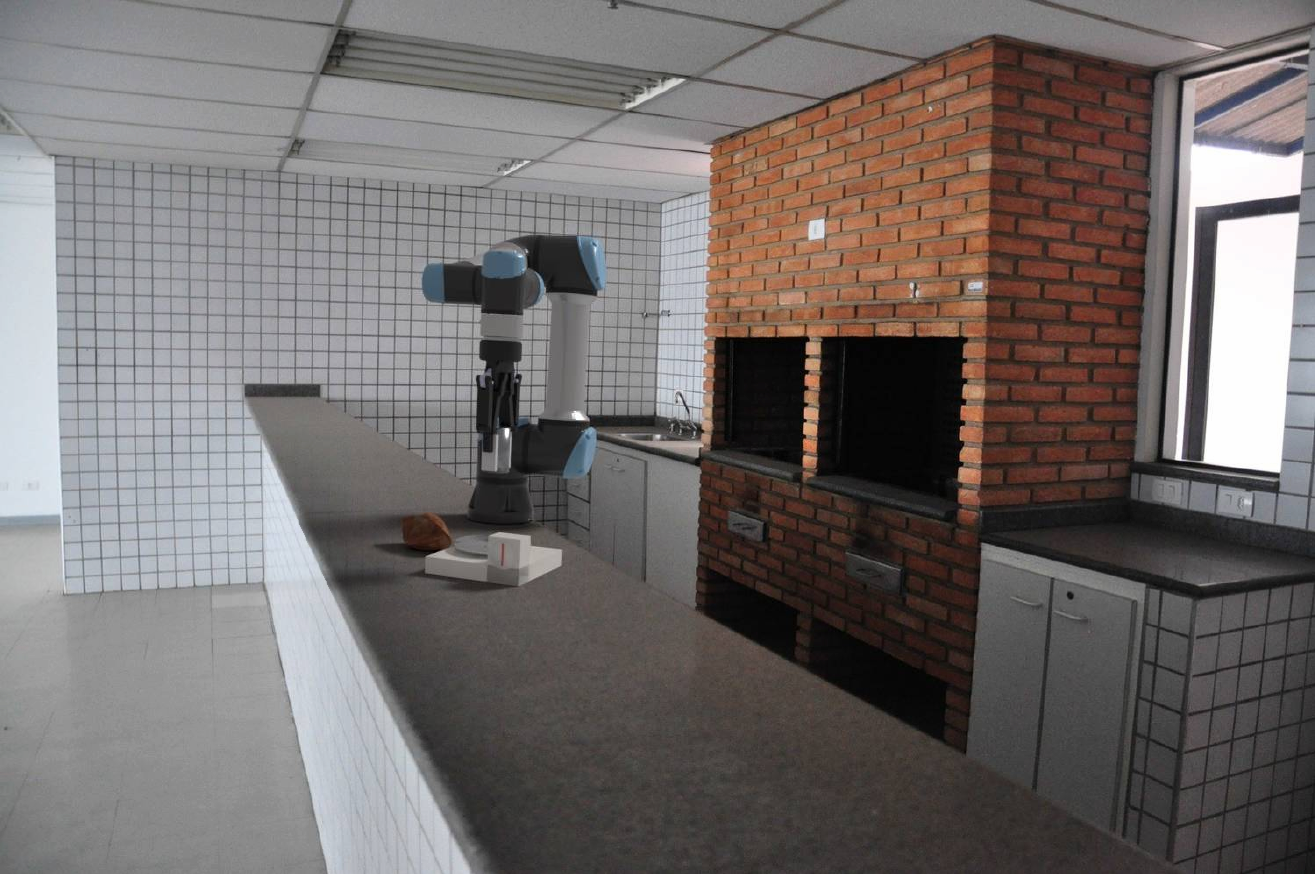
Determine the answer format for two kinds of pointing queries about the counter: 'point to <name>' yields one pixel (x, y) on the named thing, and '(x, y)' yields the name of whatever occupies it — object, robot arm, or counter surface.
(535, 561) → the scale
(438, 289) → the robot arm
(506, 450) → the metal cylinder
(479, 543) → the pan
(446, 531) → the brown lumpy chunk
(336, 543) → the counter surface
